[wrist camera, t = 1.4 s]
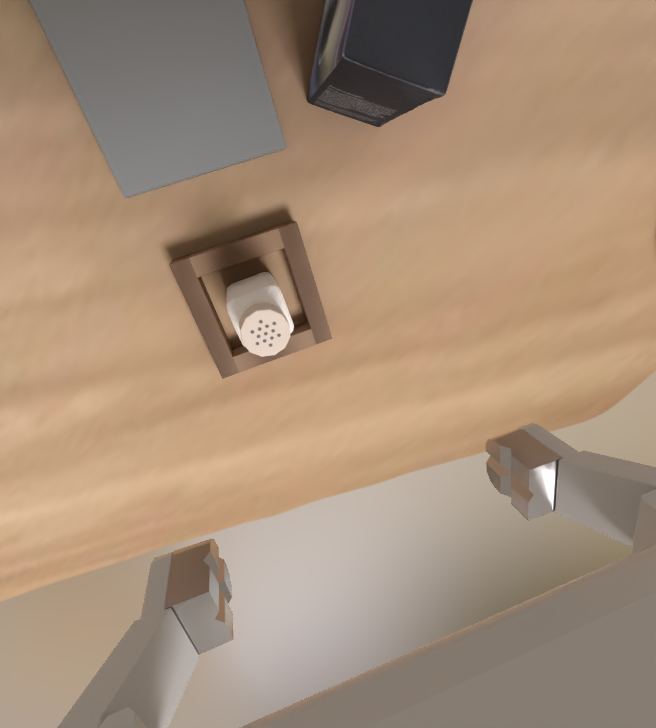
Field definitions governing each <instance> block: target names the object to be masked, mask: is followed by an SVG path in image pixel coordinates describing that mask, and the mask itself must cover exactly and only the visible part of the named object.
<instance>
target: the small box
mask: <svg viewBox="0 0 656 728" xmlns="http://www.w3.org/2000/svg"><path fill="white" fill-rule="evenodd" d="M472 2H473V0H325V3H324V8H323V13H322V19H321V24H320V30H319V35H318V41H317V46H316V52H315V57H314V63H313V68H312V74H311V80H310V85H309V91H308V97H307V101H308V103H310V104H313V105H316V106H318V107H321V108H324V109H327V110H330V111H332V112H335V113H338V114H341V115H344V116H347V117H350V118H353V119H356V120H359V121H362V122H364V123H367V124H370V125H373V126H376V127H380V126H382V125H384V124H385V123H387V122H389V121H390V120H393V119H395V118H396V117H399V116H400V115H402V114H404V113H406V112H408V111H410V110H413V109H414V108H416V107H418V106H420V105H422V104H424V103H426V102H428V101H431V100H433V99H435V98H439V97H442V96H444V95H445V94H446V91H447V88H448V84H449V81H450V77H451V74H452V71H453V67H454V64H455V60H456V57H457V53H458V50H459V46H460V43H461V39H462V36H463V32H464V29H465V26H466V22H467V19H468V15H469V12H470V8H471V5H472Z"/></svg>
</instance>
